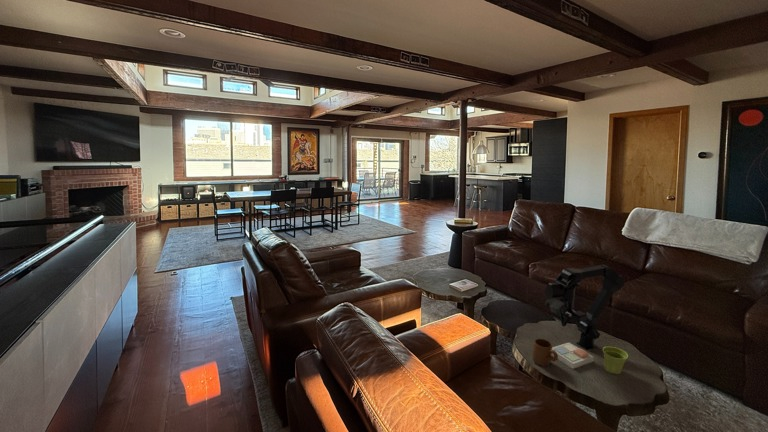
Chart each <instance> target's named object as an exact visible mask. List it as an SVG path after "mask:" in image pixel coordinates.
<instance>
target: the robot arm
mask: <svg viewBox="0 0 768 432" xmlns="http://www.w3.org/2000/svg"><path fill="white" fill-rule="evenodd" d="M597 277H603V279H602V281H601V282H602V283H601V285H602V288H601V289H600V291H599V293H598V294H597V296H596V297H595V299H594V300H593V302H592V303H591V305H590V307H589V309H588V310H587V312H586V313H585V312H584V311H581V310H578V311H576V310H575V309H576V308H575V306H574V303H575V302H576V300H577V298H575V294H576V288H581V286H580V284H579V283H581V282H583V280H585V279H591V278H597ZM625 279H626V278H625V277H624V276H623V275H620V274H619V273H617V272H615V271H614V270H613V269H612V268H611V267H610V266H607V265H605V264H599V265H595V266H589V267H583V268H572V267H570V268H569V267H568V268H563V269H562V271H561V272H560V273H559V275H558V276H557V277H556V279H554V282H549V283H548V285H546V286H545V288H544V292H545V296H546V297H547V298H548V299H547V300H546V301H545V306H546V307H548V308H549V309H550V312H551V313H554V314H555V315H557V316H559V319H560V324H561V326H562V327H566V325H567V324H568V323H569V322H570V320H571V319H572V320H573V321H575V325H576V328H577V330H578V331H579V332H581V333H580V337H579V341H576V344H577V345H579V346H580V347H582V348H583V349H586V350H587V351H588V350H592V349H596V348H597V347H598V346H597V345H596V344H595V340H597V339H599V338H600V336H601V333H600V332H599V331H598V330H597V328H598V326H599V325H598V324H599V323H598V319H599V317H600V315H601V314H602V312H603V311H604V309H605V307H606V306H607V304H608V303H609V301H610V299H611V298H612V296H613V294H614V293H616V292H618V291H621V289H622V288H623V287H624V285H625V283H626V280H625Z"/></svg>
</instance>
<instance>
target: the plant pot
mask: <svg viewBox="0 0 768 432" xmlns="http://www.w3.org/2000/svg"><path fill="white" fill-rule="evenodd" d="M602 352H603V358H604V360H603V362H604V363H603V365H604V369H605V371H607V372H608V373H610V374H615V375H619V374H621V373H622V371H623V367H624V365H625V362H626V361H627V359H628V358H629V354H628V353H627V352H626V351H625V350H623V349H621V348H619V347H614V346H604V347H602Z"/></svg>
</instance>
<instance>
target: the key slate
mask: <svg viewBox="0 0 768 432" xmlns="http://www.w3.org/2000/svg"><path fill="white" fill-rule="evenodd" d="M554 350H555V351H557V352H558V353H560V354H561V355H564V354H567V353H569V352H568V351H567V350H565V349H563V348H562V347H559V348H556V349H554Z"/></svg>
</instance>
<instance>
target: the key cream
mask: <svg viewBox="0 0 768 432" xmlns="http://www.w3.org/2000/svg"><path fill="white" fill-rule="evenodd" d="M563 347H564V348H565V349H567V350H568V351H570V352H573V351H574V350H576V349H577V348H575V347H573V346H572V345H570V344H569V345H566V346H563Z"/></svg>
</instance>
